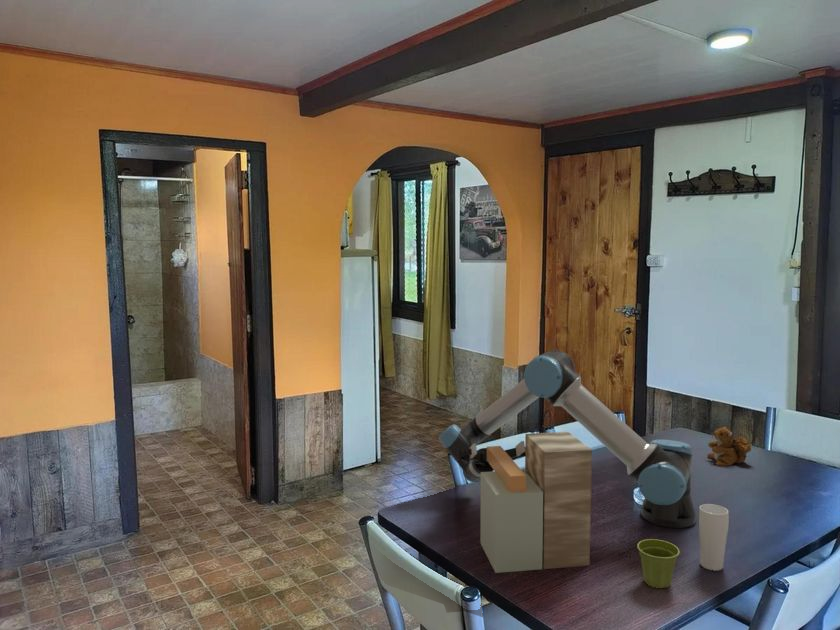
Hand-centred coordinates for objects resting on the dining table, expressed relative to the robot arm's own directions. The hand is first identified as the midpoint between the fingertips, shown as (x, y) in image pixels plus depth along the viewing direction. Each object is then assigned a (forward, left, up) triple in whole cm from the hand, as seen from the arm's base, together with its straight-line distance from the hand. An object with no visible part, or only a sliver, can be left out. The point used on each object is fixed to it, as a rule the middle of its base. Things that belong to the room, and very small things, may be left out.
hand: (499, 447), depth 172 cm
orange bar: (-4, +4, -6) cm, 8 cm away
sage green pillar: (-7, +8, -26) cm, 28 cm away
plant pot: (-43, +2, -26) cm, 50 cm away
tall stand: (-17, 0, -26) cm, 31 cm away
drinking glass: (-53, -13, -26) cm, 60 cm away
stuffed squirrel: (-47, -101, -26) cm, 114 cm away
